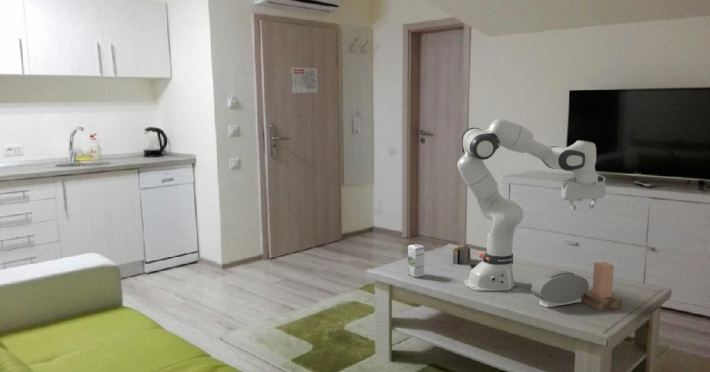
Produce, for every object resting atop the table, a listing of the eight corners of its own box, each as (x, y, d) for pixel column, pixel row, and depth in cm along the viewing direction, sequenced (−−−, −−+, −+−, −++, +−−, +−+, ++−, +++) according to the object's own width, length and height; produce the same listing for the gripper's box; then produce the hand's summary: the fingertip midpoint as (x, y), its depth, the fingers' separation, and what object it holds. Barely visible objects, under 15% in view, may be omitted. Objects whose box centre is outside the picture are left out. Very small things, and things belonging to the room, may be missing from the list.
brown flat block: (457, 265, 273) (458, 246, 272) (453, 264, 275) (453, 245, 274) (471, 261, 281) (471, 242, 279) (466, 259, 283) (466, 241, 282)
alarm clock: (578, 297, 225) (577, 266, 224) (589, 300, 219) (588, 269, 218) (531, 305, 217) (530, 273, 217) (541, 308, 211) (540, 276, 211)
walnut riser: (599, 311, 210) (600, 301, 209) (582, 302, 220) (583, 292, 219) (621, 308, 212) (621, 298, 212) (603, 299, 222) (604, 290, 221)
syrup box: (424, 275, 256) (424, 245, 254) (415, 278, 252) (415, 247, 250) (416, 272, 260) (416, 243, 258) (407, 275, 257) (407, 245, 255)
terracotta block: (601, 298, 212) (602, 266, 210) (592, 294, 217) (594, 262, 215) (611, 297, 214) (613, 265, 212) (603, 292, 218) (604, 261, 217)
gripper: (567, 179, 229) (566, 211, 231) (608, 177, 234) (606, 209, 236) (558, 177, 235) (557, 209, 237) (598, 175, 240) (597, 206, 242)
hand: (582, 209), depth 237 cm, fingers open, 8 cm apart
